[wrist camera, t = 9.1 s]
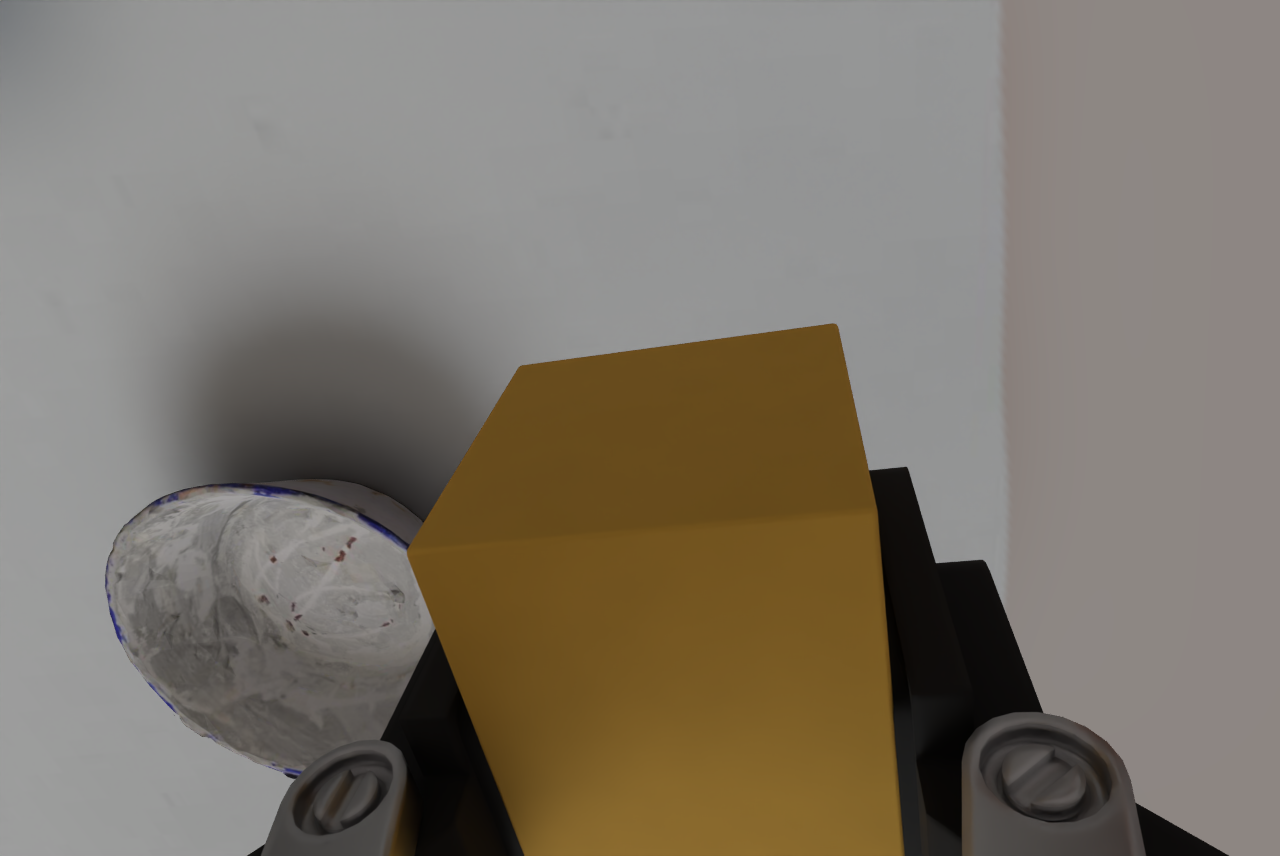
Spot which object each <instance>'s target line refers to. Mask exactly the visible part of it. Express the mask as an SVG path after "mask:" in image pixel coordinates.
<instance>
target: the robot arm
mask: <svg viewBox="0 0 1280 856" xmlns="http://www.w3.org/2000/svg"><path fill="white" fill-rule="evenodd" d="M869 474H870V478H871V483H872V488H873V492H874V497H875V502H876V506H877V511H878V523H879V535H880V547H881V559H882V572H883V584H884V596H885V608H886V621H887V633H888V645H889V657H890V669H891V682H892V694H893V706H894V709H893V721H894V733H895V745H896V757H897V769H898V781H899V793H900V806H901V818H902V830H903V842H904V854H905V856H1229V855H1227V854H1225V853H1223V852H1222V851H1220V850H1218V849H1216V848H1214V847H1213V846H1211V845H1209V844H1207V843H1206V842H1204V841H1202V840H1200V839H1199V838H1197V837H1195V836H1193V835H1192V834H1190V833H1188V832H1186V831H1184V830H1183V829H1181V828H1179V827H1177V826H1175V825H1174V824H1172V823H1170V822H1169V821H1167V820H1165V819H1163V818H1162V817H1160V816H1158V815H1156V814H1154V813H1153V812H1151V811H1149V810H1147V809H1146V808H1144V807H1142V806H1140V805H1139V804H1137V803H1135V799H1134V794H1133V789H1132V784H1131V780H1130V777H1129V775H1128V772H1127V770H1126V767H1125V765H1124V763H1123V760H1122V759H1121V758H1120V757H1119V755H1118V754H1117V753H1116V752H1115V751H1114V749H1113V748H1112V747H1111V746H1110V745H1109V744H1108V743H1107V741H1105V740H1103V739H1102V738H1101V737H1099V736H1098V735H1097V734H1095V733H1094V732H1092V731H1091V730H1089V729H1088V728H1087V727H1085V726H1082V725H1080V724H1078V723H1075V722H1073V721H1071V720H1068V719H1066V718H1063V717H1060V716H1055V715H1050V714H1044V713H1043V711H1042V708H1041V706H1040V703H1039V700H1038V697H1037V695H1036V692H1035V690H1034V687H1033V684H1032V682H1031V679H1030V676H1029V674H1028V671H1027V669H1026V666H1025V663H1024V660H1023V658H1022V655H1021V653H1020V650H1019V647H1018V645H1017V642H1016V639H1015V637H1014V634H1013V631H1012V629H1011V626H1010V623H1009V621H1008V618H1007V615H1006V613H1005V610H1004V607H1003V605H1002V602H1001V600H1000V597H999V594H998V592H997V589H996V586H995V584H994V581H993V578H992V576H991V573H990V570H989V568H988V566H987V564H986V562H985V561H983V560H973V561H960V562H947V563H935V559H934V556H933V553H932V549H931V546H930V542H929V539H928V535H927V532H926V529H925V525H924V522H923V518H922V515H921V511H920V508H919V505H918V501H917V498H916V494H915V491H914V487H913V484H912V481H911V477H910V474H909V471H908V468H907V467H900V468H890V469H880V470H870V471H869ZM248 856H524V853H523V851H522V848H521V846H520V843H519V841H518V838H517V836H516V833H515V830H514V828H513V825H512V823H511V820H510V818H509V815H508V813H507V810H506V808H505V805H504V802H503V800H502V797H501V795H500V792H499V790H498V787H497V785H496V782H495V779H494V777H493V774H492V772H491V769H490V767H489V764H488V762H487V759H486V756H485V754H484V751H483V749H482V746H481V744H480V741H479V739H478V736H477V734H476V731H475V728H474V726H473V723H472V721H471V718H470V716H469V713H468V711H467V708H466V705H465V703H464V700H463V698H462V695H461V693H460V690H459V688H458V685H457V682H456V680H455V677H454V675H453V672H452V670H451V667H450V665H449V662H448V660H447V657H446V654H445V652H444V649H443V647H442V644H441V642H440V639H439V637H438V634H437V631H436V629H435V630H434V632H433V634H432V636H431V638H430V640H429V642H428V644H427V646H426V648H425V650H424V652H423V654H422V656H421V658H420V660H419V662H418V664H417V666H416V668H415V670H414V672H413V674H412V676H411V678H410V680H409V682H408V684H407V686H406V688H405V690H404V692H403V694H402V696H401V698H400V700H399V702H398V704H397V706H396V708H395V711H394V713H393V715H392V717H391V719H390V721H389V723H388V725H387V727H386V729H385V731H384V733H383V735H382V737H381V739H380V740H376V739H375V740H361V741H356V742H353V743H349V744H346V745H343V746H340V747H338V748H336V749H334V750H332V751H330V752H328V753H327V754H325V755H323V756H321V757H320V758H318V759H317V760H316V761H315V762H313V763H312V764H311V765H310V766H308V767H307V768H306V769H304V770H303V772H302V773H301V774H300V775H299V776H298V777H297V778H296V780H295V781H294V782H293V783H292V784H291V785H290V787H289V789H288V791H287V793H286V794H285V796H284V798H283V800H282V802H281V804H280V807H279V809H278V812H277V815H276V817H275V820H274V822H273V825H272V828H271V830H270V833H269V836H268V838H267V841H266V844H264V845H263V846H261V847H260V848H258V849H257V850H255V851H254V852H252V853H251V854H249V855H248Z"/></svg>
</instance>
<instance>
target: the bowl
mask: <svg viewBox="0 0 1280 856" xmlns="http://www.w3.org/2000/svg"><path fill="white" fill-rule="evenodd" d="M422 525H423V522H422V521H421V520H420V519H419V518H418V517H417V516H416V515H414V514H413V513H412V512H411V511H409V510H408V509H407V508H406V507H405V506H403V505H401V504H400V503H398V502H397V501H395V500H394V499H392V498H391V497H389V496H387V495H384V494H382V493H379V492H377V491H374V490H372V489H370V488H367V487H365V486H362V485H360V484H356V483H350V482H345V481H339V480H329V479H301V480H286V481H277V482H266V483H228V484H210V485H204V486H198V487H193V488H188V489H183V490H180V491H177V492H174V493H171V494H168V495H166V496H163V497H161V498H159V499H157V500H156V501H154V502H152V503H151V504H149V505H148V506H147V507H145V508H144V509H143V510H142V511H141V512H139V513H138V514H137V515H136V516H134V517H133V518H132V519H131V520H130V521H129V522H128V523H127V524H125V525H124V526H123V528H122V529H121V531H120V532H119V534H118V535H117V537H116V539H115V541H114V542H113V550H112V551H111V553H110V555H109V558H108V561H107V566H106V574H105V588H106V593H107V598H108V604H109V610H110V615H111V618H112V621H113V624H114V627H115V630H116V634H117V637H118V639H119V641H120V642H121V644H122V646H123V648H124V650H125V652H126V654H127V656H128V658H129V660H130V661H131V663H132V664H133V665H134V666H135V667H136V668H137V670H138V671H139V672H140V674H141V675H142V676H143V678H144V679H145V680H146V682H147V683H148V684H149V685H150V687H151V688H152V689H153V690H154V691H155V692H156V693H157V694H158V695H159V696H160V697H161V698H162V699H163V701H164V702H165V703H166V704H167V705H168V706H169V707H170V708H171V709H172V710H173V711H174V712H175V713H176V714H178V715H179V716H180V719H181V720H182V722H183V724H184V725H185V726H186V727H188V728H190V729H191V730H193V731H194V732H196V733H197V734H199V735H200V736H202V737H208V738H211V739H213V740H214V741H215V742H216V743H217V744H219V745H221V746H223V747H225V748H227V749H229V750H231V751H232V752H234V753H236V754H239V755H241V756H244V757H246V758H248V759H250V760H252V761H253V762H255V763H258V764H261V765H264V766H267V767H269V768H272V769H275V770H278V771H281V772H283V773H284V774H285V775H286V776H287V777H290V778H292V779H296V778H297V777H298V776H299V775H300V774H301V773H302V772H303V770H304V769H306V768H307V767H308V766H310V765H311V764H312V763H313V762H315V761H316V760H317V759H318V758H320V757H321V756H323V755H325V754H327V753H328V752H330V751H332V750H334V749H336V748H338V747H340V746H343V745H346V744H349V743H353V742H356V741H361V740H375V739H376V740H380V739H381V737H382V735H383V733H384V731H385V729H386V727H387V725H388V723H389V721H390V719H391V717H392V715H393V713H394V711H395V708H396V706H397V704H398V702H399V700H400V698H401V696H402V694H403V692H404V690H405V688H406V686H407V684H408V682H409V680H410V678H411V676H412V674H413V672H414V670H415V668H416V666H417V664H418V662H419V660H420V658H421V656H422V654H423V652H424V650H425V648H426V646H427V644H428V642H429V640H430V638H431V636H432V634H433V632H434V630H435V626H434V624H433V621H432V619H431V616H430V614H429V611H428V608H427V606H426V603H425V601H424V598H423V596H422V593H421V591H420V588H419V586H418V583H417V580H416V578H415V575H414V573H413V570H412V568H411V565H410V563H409V560H408V557H407V549H408V548H409V546H410V544H411V543H412V541H413V539H414V538H415V536H416V534H417V533H418V531H419V530H420V528H421V526H422ZM174 716H175V715H174Z"/></svg>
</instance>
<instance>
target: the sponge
mask: <svg viewBox="0 0 1280 856" xmlns="http://www.w3.org/2000/svg"><path fill="white" fill-rule="evenodd" d="M407 557H408V560H409V563H410V565H411V568H412V570H413V573H414V575H415V578H416V580H417V583H418V586H419V588H420V591H421V593H422V596H423V598H424V601H425V603H426V606H427V608H428V611H429V614H430V616H431V619H432V621H433V624H434V626H435V629H436V631H437V634H438V637H439V639H440V642H441V644H442V647H443V649H444V652H445V654H446V657H447V660H448V662H449V665H450V667H451V670H452V672H453V675H454V677H455V680H456V682H457V685H458V688H459V690H460V693H461V695H462V698H463V700H464V703H465V705H466V708H467V711H468V713H469V716H470V718H471V721H472V723H473V726H474V728H475V731H476V734H477V736H478V739H479V741H480V744H481V746H482V749H483V751H484V754H485V756H486V759H487V762H488V764H489V767H490V769H491V772H492V774H493V777H494V779H495V782H496V785H497V787H498V790H499V792H500V795H501V797H502V800H503V802H504V805H505V808H506V810H507V813H508V815H509V818H510V820H511V823H512V825H513V828H514V830H515V833H516V836H517V838H518V841H519V843H520V846H521V848H522V851H523V853H524V856H905V854H904V842H903V830H902V818H901V806H900V793H899V781H898V769H897V757H896V745H895V733H894V721H893V709H894V706H893V694H892V682H891V669H890V657H889V645H888V633H887V621H886V608H885V596H884V584H883V572H882V559H881V547H880V535H879V523H878V511H877V506H876V502H875V497H874V492H873V488H872V483H871V478H870V474H869V469H868V464H867V460H866V455H865V450H864V446H863V441H862V436H861V432H860V427H859V422H858V418H857V413H856V408H855V404H854V399H853V394H852V390H851V385H850V380H849V376H848V371H847V367H846V362H845V357H844V353H843V348H842V343H841V339H840V334H839V329H838V326H837V324H826V325H818V326H811V327H803V328H796V329H789V330H781V331H774V332H766V333H759V334H752V335H744V336H737V337H729V338H722V339H715V340H707V341H700V342H692V343H685V344H678V345H670V346H663V347H655V348H648V349H641V350H633V351H626V352H618V353H611V354H603V355H596V356H589V357H581V358H574V359H566V360H559V361H552V362H544V363H537V364H529V365H522V366H520V367H519V368H518V369H517V371H516V373H515V374H514V376H513V377H512V379H511V381H510V382H509V384H508V386H507V387H506V389H505V391H504V392H503V394H502V395H501V397H500V399H499V400H498V402H497V404H496V405H495V407H494V409H493V410H492V412H491V413H490V415H489V417H488V418H487V420H486V422H485V423H484V425H483V427H482V428H481V430H480V431H479V433H478V435H477V436H476V438H475V440H474V441H473V443H472V445H471V446H470V448H469V449H468V451H467V453H466V454H465V456H464V458H463V459H462V461H461V462H460V464H459V466H458V467H457V469H456V471H455V472H454V474H453V476H452V477H451V479H450V480H449V482H448V484H447V485H446V487H445V489H444V490H443V492H442V494H441V495H440V497H439V498H438V500H437V502H436V503H435V505H434V507H433V508H432V510H431V512H430V513H429V515H428V516H427V518H426V520H425V521H424V523H423V525H422V526H421V528H420V530H419V531H418V533H417V534H416V536H415V538H414V539H413V541H412V543H411V544H410V546H409V548H408V549H407Z"/></svg>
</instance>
